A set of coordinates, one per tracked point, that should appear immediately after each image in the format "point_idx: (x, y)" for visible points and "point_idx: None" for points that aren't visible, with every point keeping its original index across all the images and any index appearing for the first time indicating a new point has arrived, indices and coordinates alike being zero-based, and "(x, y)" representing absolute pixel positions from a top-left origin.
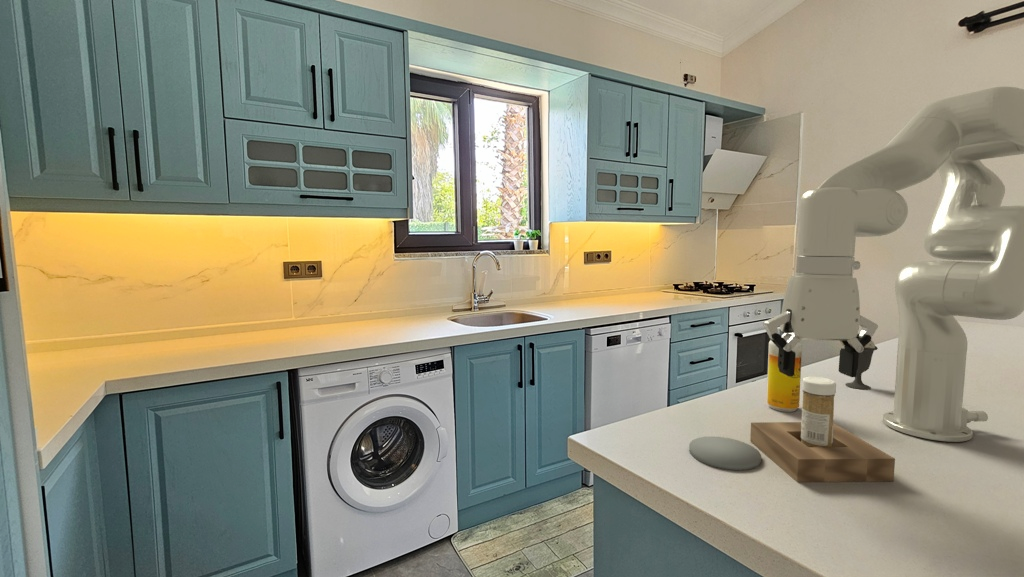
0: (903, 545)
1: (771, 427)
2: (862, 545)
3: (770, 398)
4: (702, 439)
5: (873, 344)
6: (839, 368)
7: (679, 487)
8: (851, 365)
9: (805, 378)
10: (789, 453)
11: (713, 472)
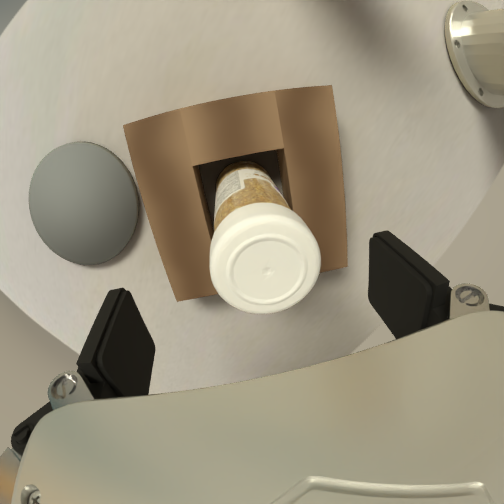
0: (250, 374)
1: (163, 147)
2: (212, 380)
3: None
4: (45, 168)
5: None
6: (377, 246)
7: (43, 315)
8: (388, 322)
9: (222, 258)
10: (168, 278)
11: (69, 272)
